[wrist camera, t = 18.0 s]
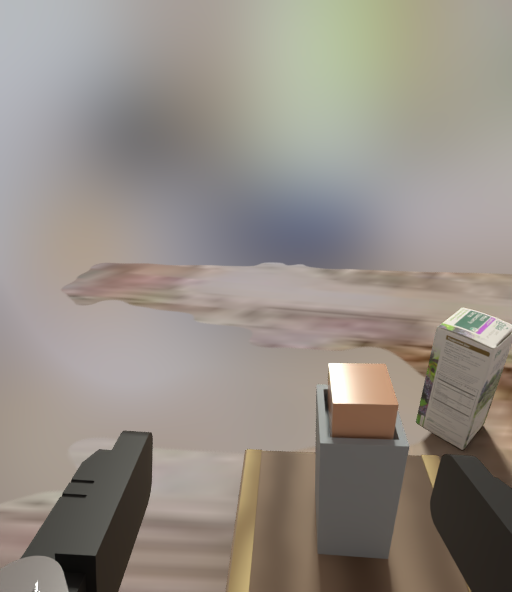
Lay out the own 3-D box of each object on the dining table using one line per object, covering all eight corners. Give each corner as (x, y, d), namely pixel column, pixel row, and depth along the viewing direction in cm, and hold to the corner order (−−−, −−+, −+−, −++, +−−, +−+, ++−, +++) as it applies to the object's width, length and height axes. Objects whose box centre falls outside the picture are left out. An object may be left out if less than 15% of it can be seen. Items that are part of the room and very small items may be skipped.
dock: (227, 626, 29) (223, 606, 28) (247, 468, 41) (245, 449, 40) (498, 649, 27) (510, 629, 25) (434, 475, 39) (439, 455, 38)
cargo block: (331, 446, 25) (333, 403, 23) (327, 403, 29) (328, 363, 27) (391, 448, 25) (398, 404, 23) (380, 405, 28) (385, 364, 26)
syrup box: (437, 400, 48) (459, 304, 41) (486, 425, 44) (519, 323, 37) (414, 424, 45) (433, 324, 38) (464, 453, 41) (496, 347, 34)
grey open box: (317, 553, 30) (320, 443, 24) (314, 490, 35) (316, 384, 29) (388, 559, 30) (409, 446, 24) (375, 493, 35) (390, 385, 28)
